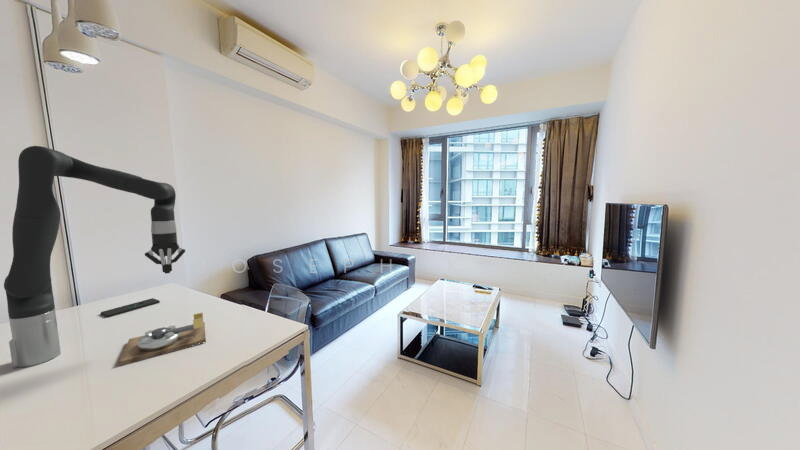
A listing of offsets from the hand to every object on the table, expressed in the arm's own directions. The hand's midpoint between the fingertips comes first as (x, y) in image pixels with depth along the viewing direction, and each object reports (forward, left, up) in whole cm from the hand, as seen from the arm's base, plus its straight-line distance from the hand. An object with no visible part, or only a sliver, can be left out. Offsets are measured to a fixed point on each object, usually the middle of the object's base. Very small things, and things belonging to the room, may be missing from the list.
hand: (167, 272), depth 106 cm
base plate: (-1, -7, -27) cm, 28 cm away
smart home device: (-18, +46, -28) cm, 56 cm away
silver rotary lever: (+1, -9, -25) cm, 27 cm away
